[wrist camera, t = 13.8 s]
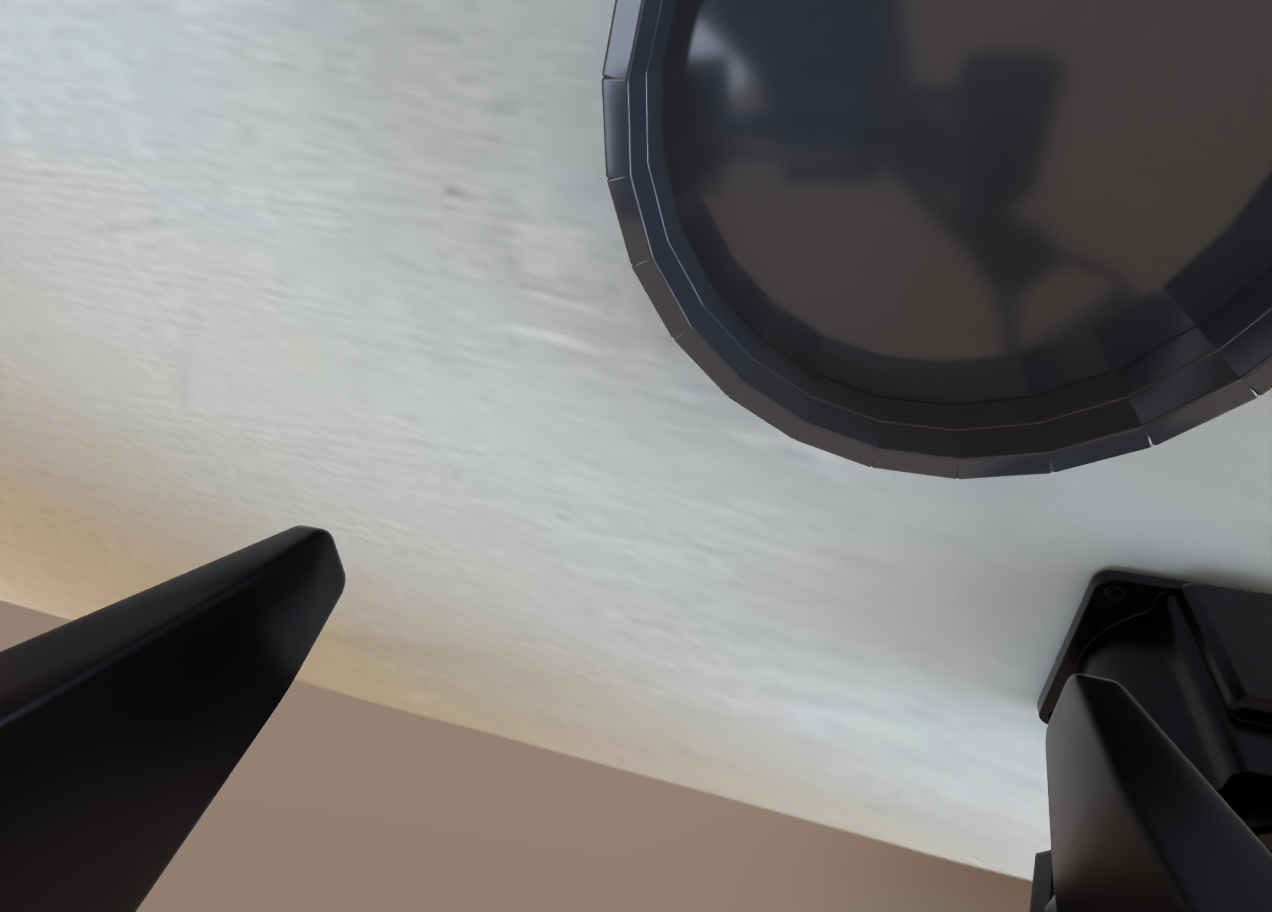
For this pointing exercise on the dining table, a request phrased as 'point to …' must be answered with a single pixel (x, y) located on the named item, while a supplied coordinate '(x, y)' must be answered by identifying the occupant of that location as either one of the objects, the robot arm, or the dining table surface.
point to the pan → (954, 217)
